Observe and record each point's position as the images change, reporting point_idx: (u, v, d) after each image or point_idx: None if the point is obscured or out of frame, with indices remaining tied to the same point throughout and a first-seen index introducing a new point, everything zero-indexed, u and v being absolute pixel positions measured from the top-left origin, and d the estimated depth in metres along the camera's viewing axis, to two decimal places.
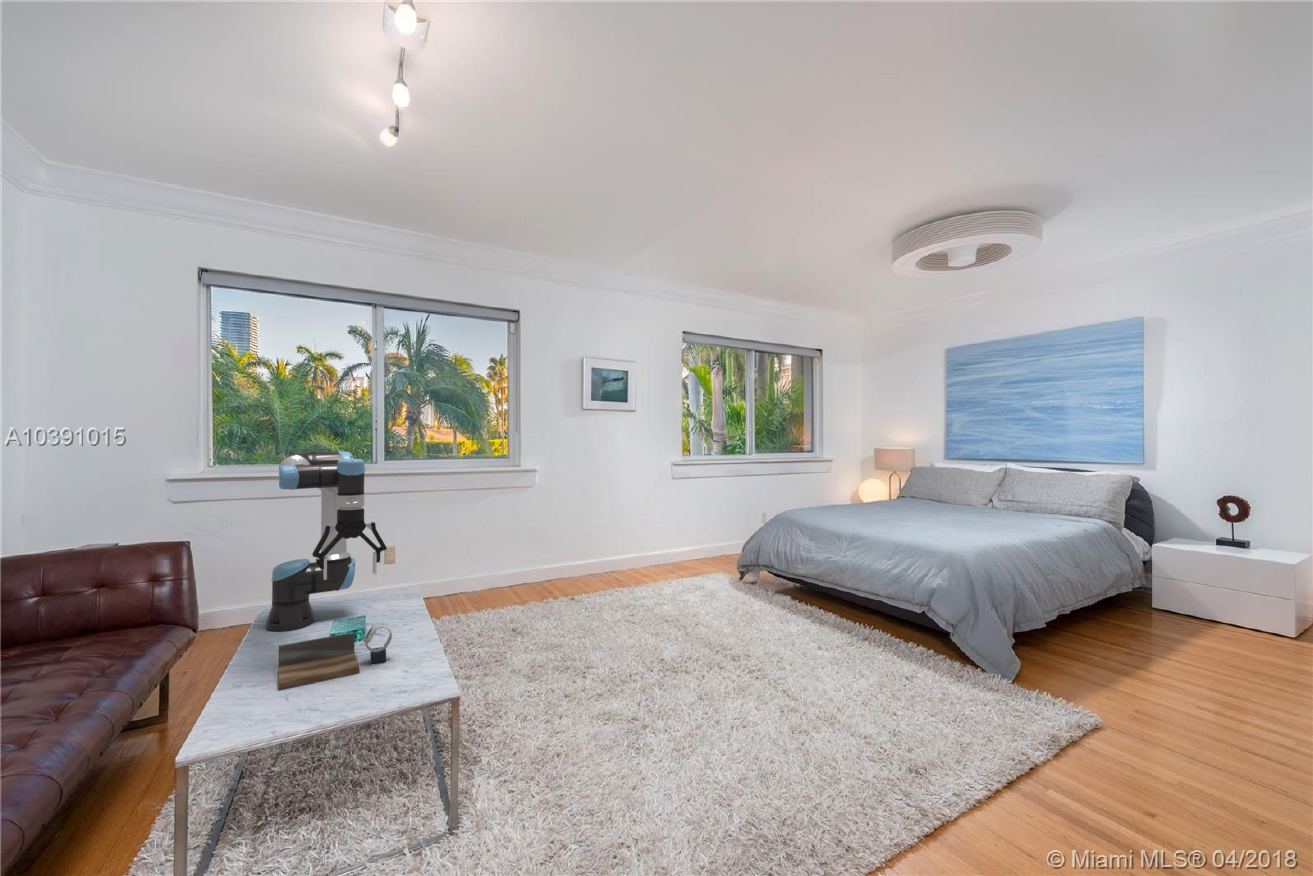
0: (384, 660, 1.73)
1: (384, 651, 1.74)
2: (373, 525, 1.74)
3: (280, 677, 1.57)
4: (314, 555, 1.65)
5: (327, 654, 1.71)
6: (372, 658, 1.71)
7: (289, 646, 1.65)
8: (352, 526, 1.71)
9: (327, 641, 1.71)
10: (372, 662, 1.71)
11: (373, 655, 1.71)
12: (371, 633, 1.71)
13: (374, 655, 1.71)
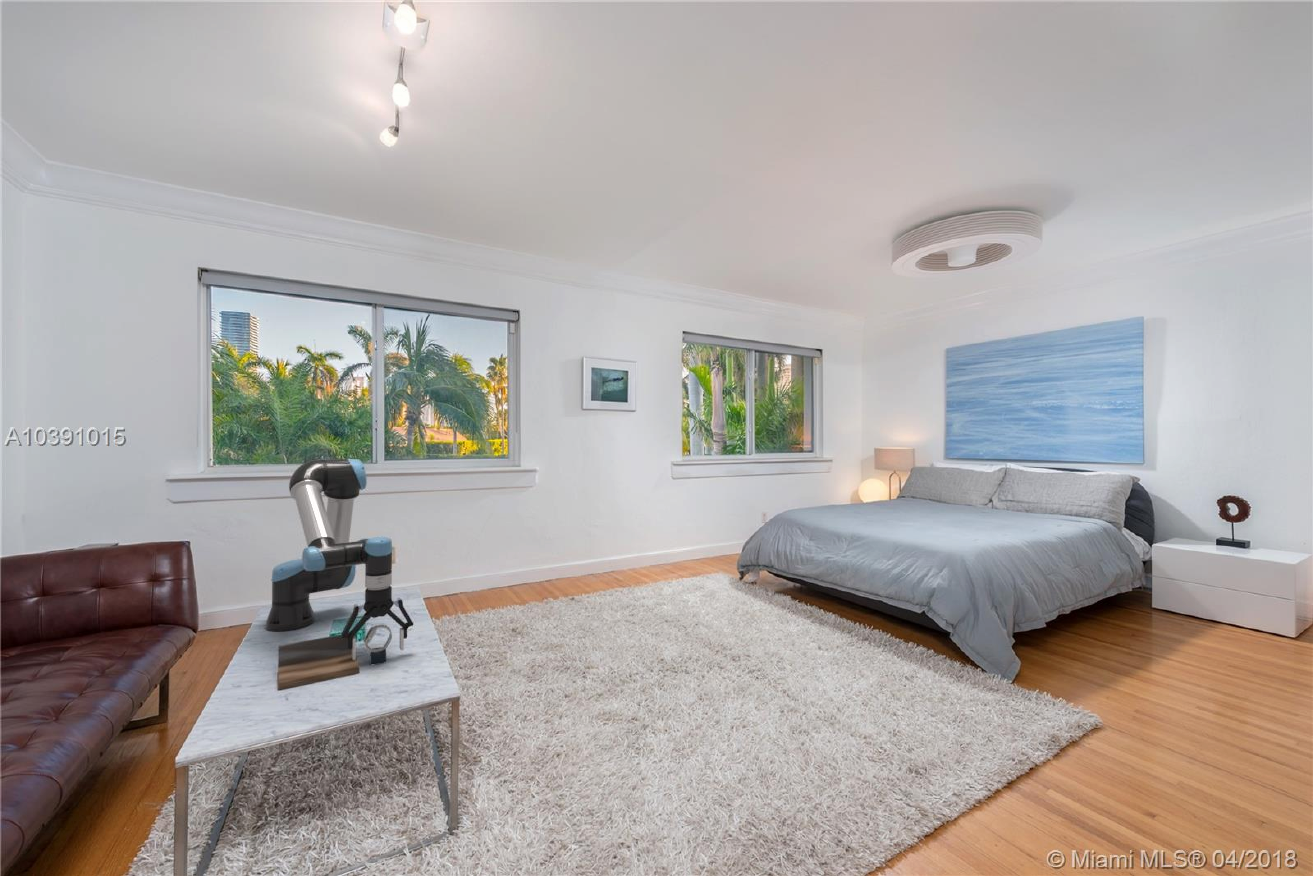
0: (384, 660, 1.73)
1: (384, 651, 1.74)
2: (400, 602, 1.77)
3: (280, 677, 1.57)
4: (343, 636, 1.67)
5: (327, 654, 1.71)
6: (372, 658, 1.71)
7: (289, 646, 1.65)
8: (380, 605, 1.73)
9: (327, 641, 1.71)
10: (372, 662, 1.71)
11: (373, 655, 1.71)
12: (371, 633, 1.71)
13: (374, 655, 1.71)
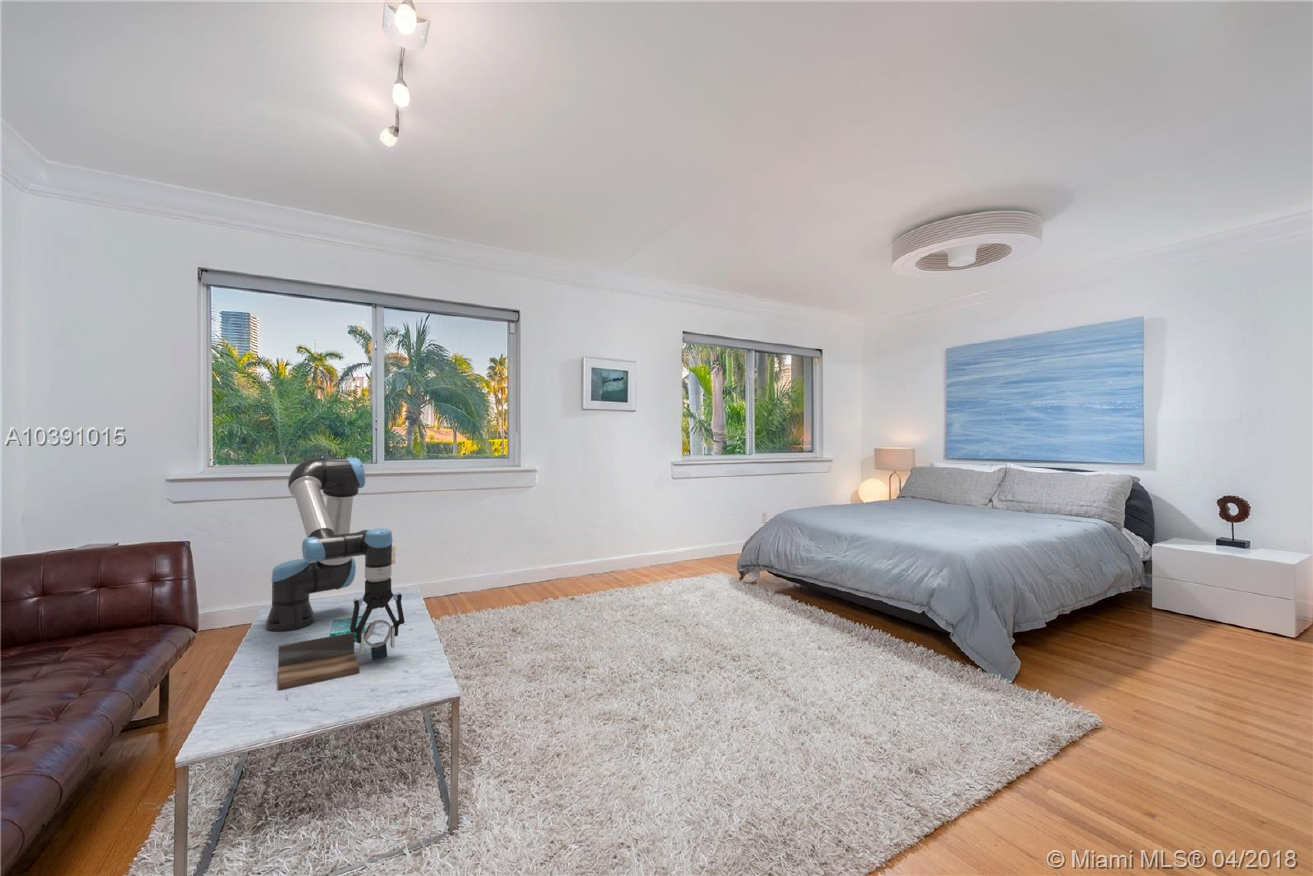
0: (385, 654, 1.73)
1: (384, 646, 1.74)
2: (399, 597, 1.76)
3: (280, 677, 1.57)
4: (352, 631, 1.69)
5: (327, 654, 1.71)
6: (373, 653, 1.72)
7: (289, 646, 1.65)
8: (380, 594, 1.73)
9: (327, 641, 1.71)
10: (373, 657, 1.72)
11: (374, 650, 1.72)
12: (370, 629, 1.72)
13: (375, 650, 1.72)
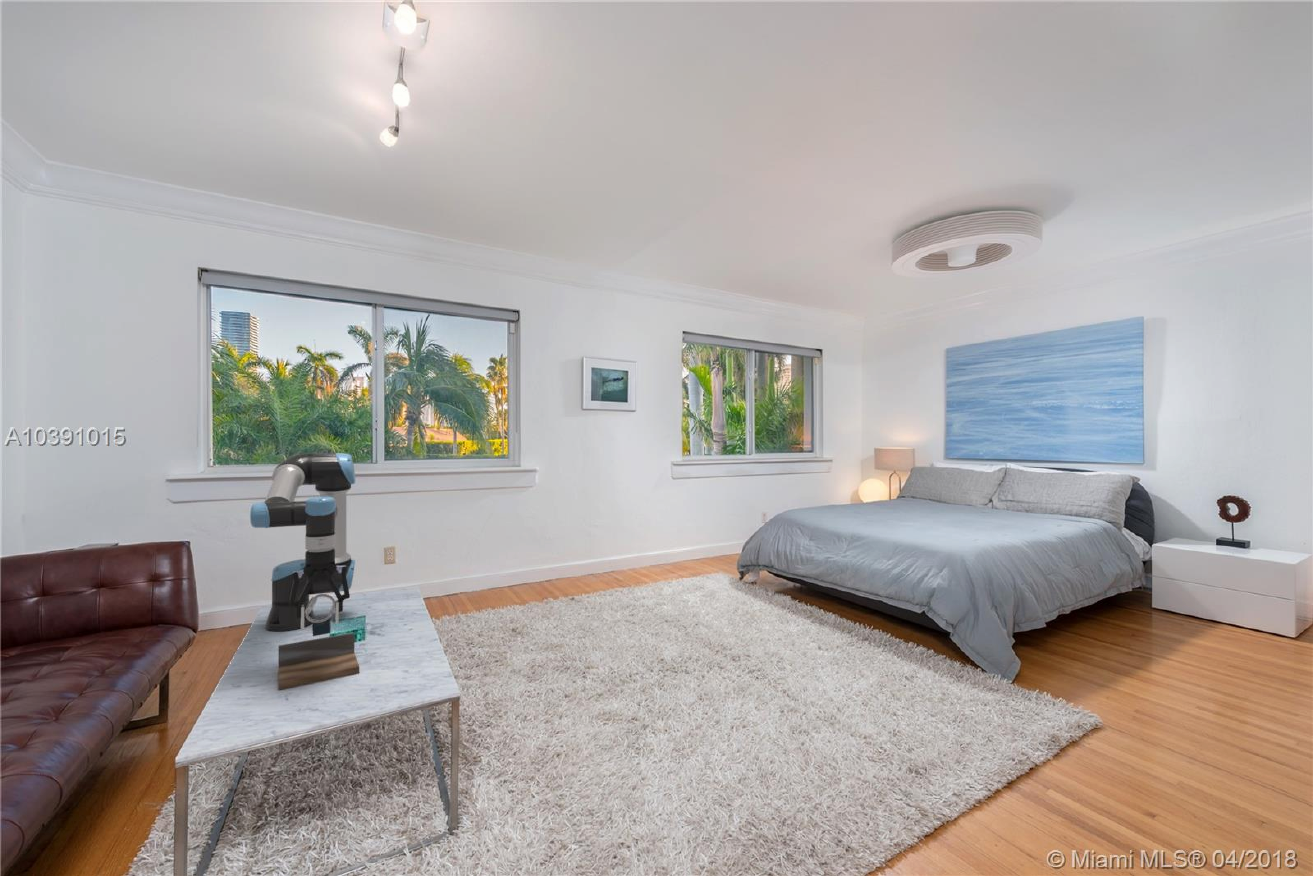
0: (328, 630, 1.62)
1: (327, 621, 1.63)
2: (344, 569, 1.66)
3: (280, 677, 1.57)
4: (291, 605, 1.58)
5: (327, 654, 1.71)
6: (314, 629, 1.60)
7: (289, 646, 1.65)
8: (322, 566, 1.62)
9: (327, 641, 1.71)
10: (314, 633, 1.60)
11: (315, 626, 1.61)
12: (311, 603, 1.61)
13: (316, 626, 1.61)
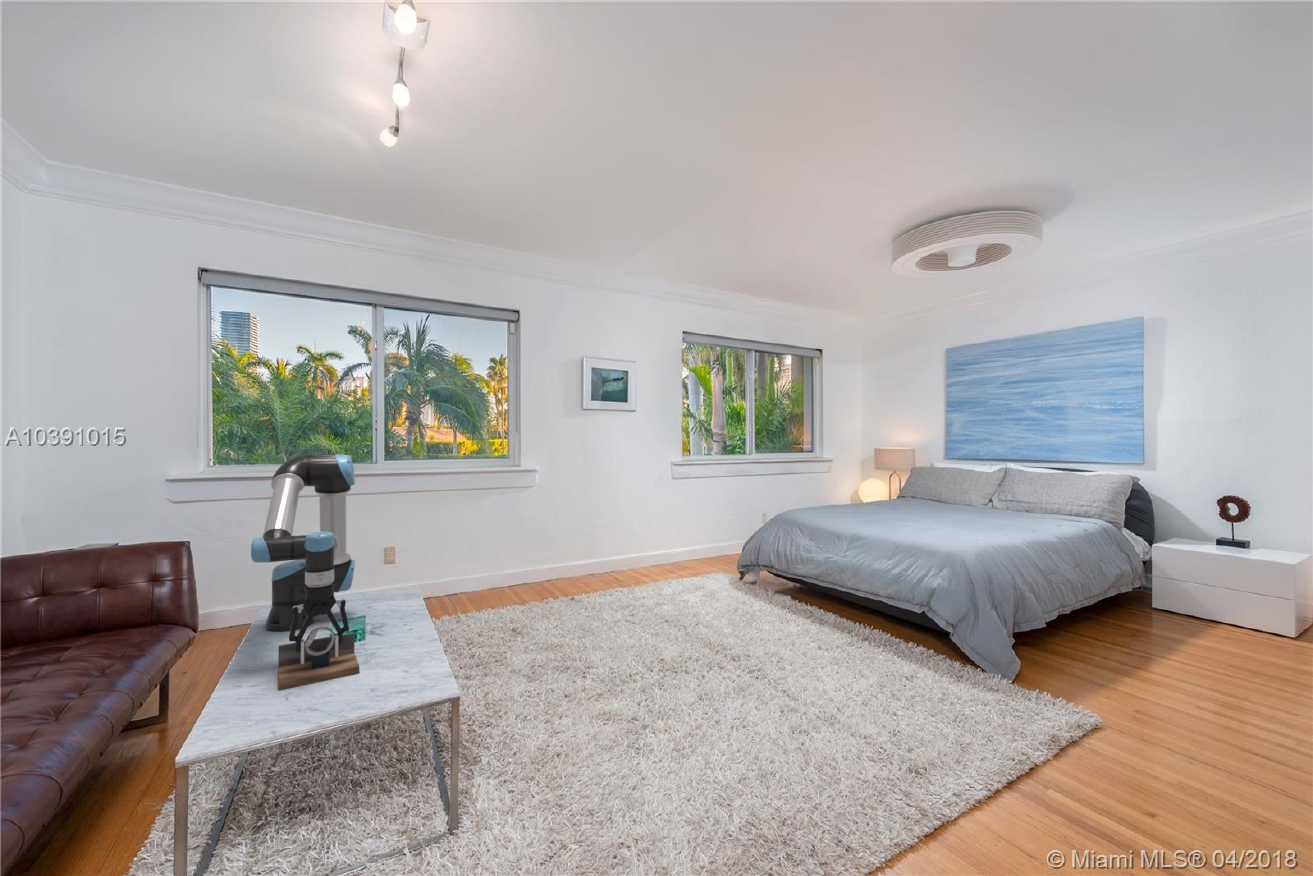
0: (326, 663, 1.65)
1: (326, 654, 1.66)
2: (343, 603, 1.68)
3: (280, 677, 1.57)
4: (291, 640, 1.61)
5: None
6: (313, 662, 1.63)
7: (289, 646, 1.65)
8: (322, 600, 1.65)
9: (327, 641, 1.71)
10: (313, 666, 1.63)
11: (314, 659, 1.63)
12: (311, 636, 1.63)
13: (315, 658, 1.63)
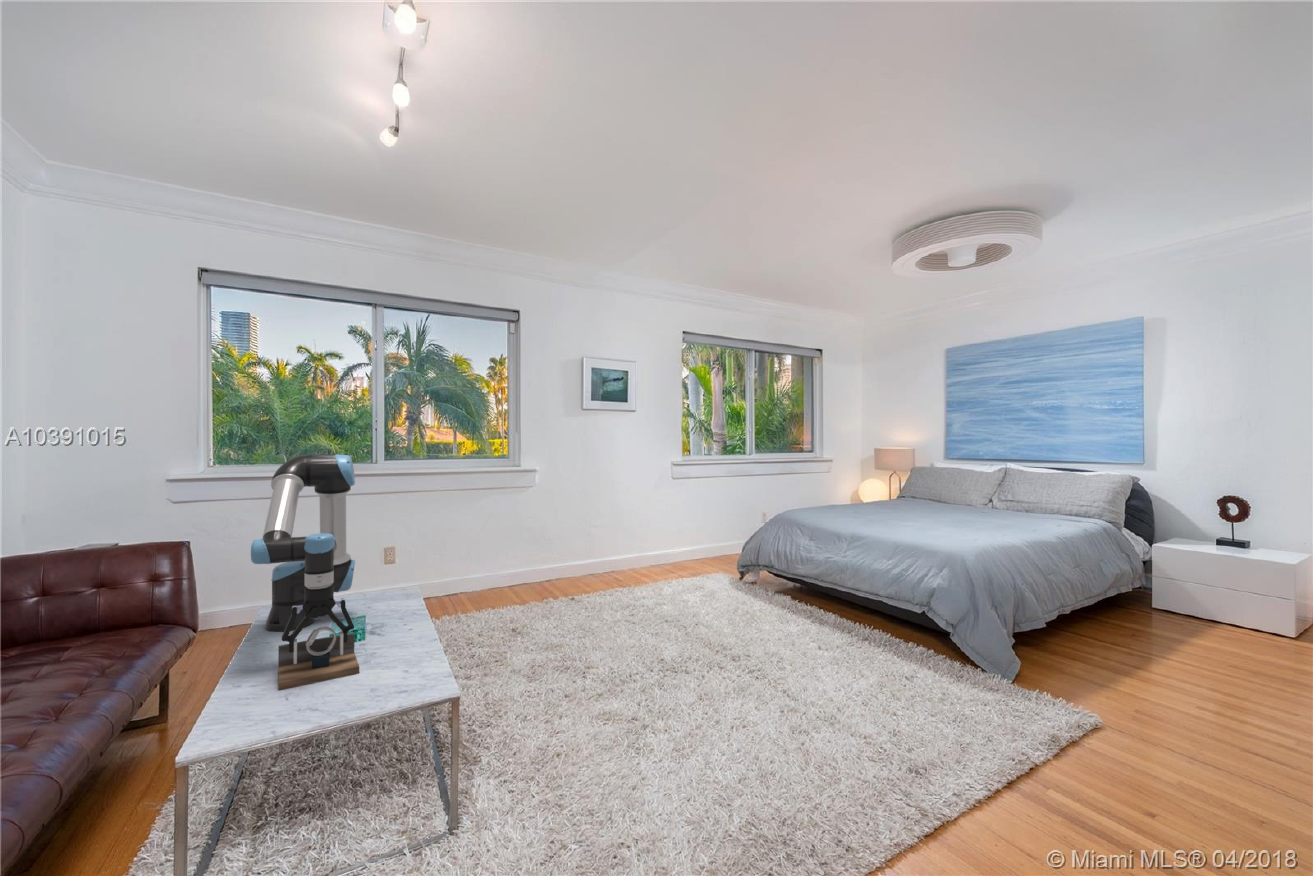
0: (327, 664, 1.65)
1: (327, 654, 1.66)
2: (343, 603, 1.68)
3: (280, 677, 1.57)
4: (283, 639, 1.60)
5: None
6: (313, 662, 1.63)
7: None
8: (321, 604, 1.65)
9: (327, 641, 1.71)
10: (313, 666, 1.63)
11: (315, 659, 1.63)
12: (313, 635, 1.63)
13: (316, 659, 1.63)
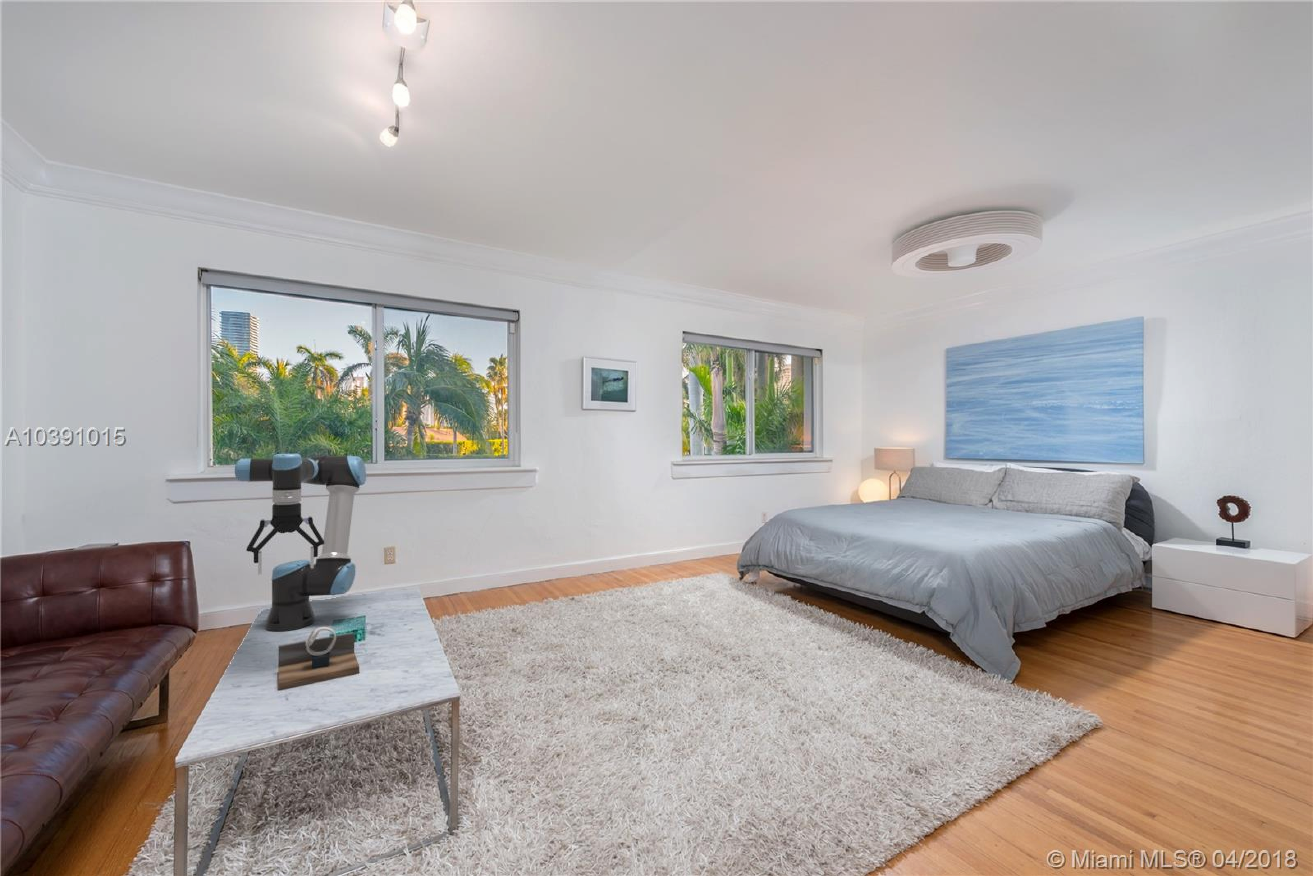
0: (327, 664, 1.65)
1: (327, 654, 1.66)
2: (310, 520, 1.75)
3: (280, 677, 1.57)
4: (248, 549, 1.66)
5: None
6: (313, 662, 1.63)
7: (289, 646, 1.65)
8: (288, 521, 1.72)
9: (327, 641, 1.71)
10: (313, 666, 1.63)
11: (315, 659, 1.63)
12: (313, 635, 1.63)
13: (316, 659, 1.63)
